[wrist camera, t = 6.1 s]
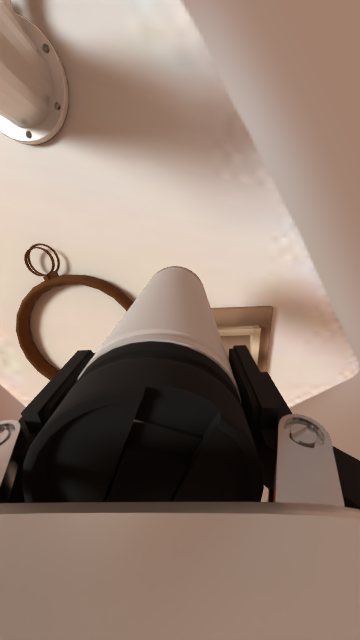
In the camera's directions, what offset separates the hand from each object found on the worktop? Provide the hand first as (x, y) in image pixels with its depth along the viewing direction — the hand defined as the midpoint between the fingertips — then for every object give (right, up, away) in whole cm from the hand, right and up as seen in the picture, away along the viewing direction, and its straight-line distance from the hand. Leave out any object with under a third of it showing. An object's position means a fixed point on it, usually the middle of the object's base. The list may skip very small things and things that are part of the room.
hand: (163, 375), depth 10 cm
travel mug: (0, +5, +13) cm, 14 cm away
